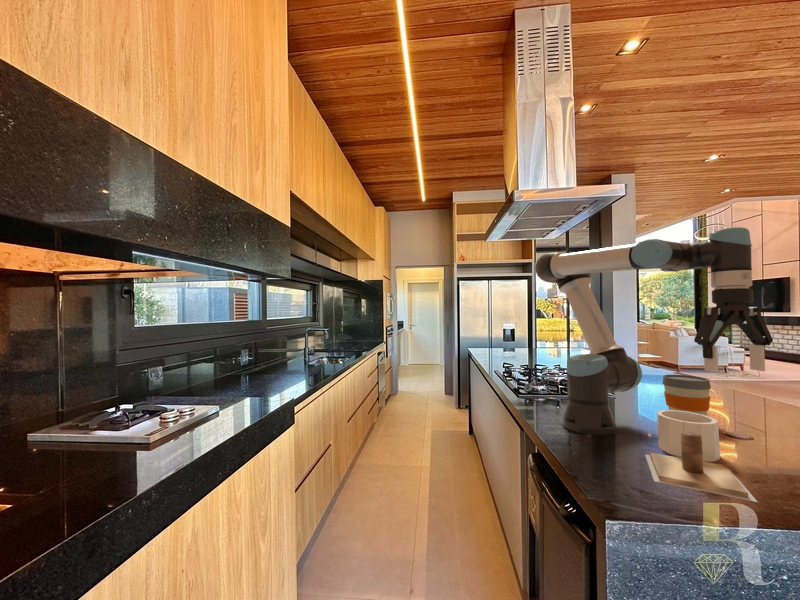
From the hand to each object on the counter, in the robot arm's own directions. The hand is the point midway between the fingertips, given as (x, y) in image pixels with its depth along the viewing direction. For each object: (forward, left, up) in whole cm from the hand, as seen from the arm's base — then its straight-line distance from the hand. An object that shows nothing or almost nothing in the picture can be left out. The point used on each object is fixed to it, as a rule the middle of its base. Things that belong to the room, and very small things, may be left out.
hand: (734, 371), depth 84 cm
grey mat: (-12, -17, -22) cm, 31 cm away
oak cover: (-12, -17, -22) cm, 30 cm away
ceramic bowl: (-10, -1, -22) cm, 24 cm away
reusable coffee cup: (-4, +32, -22) cm, 39 cm away
